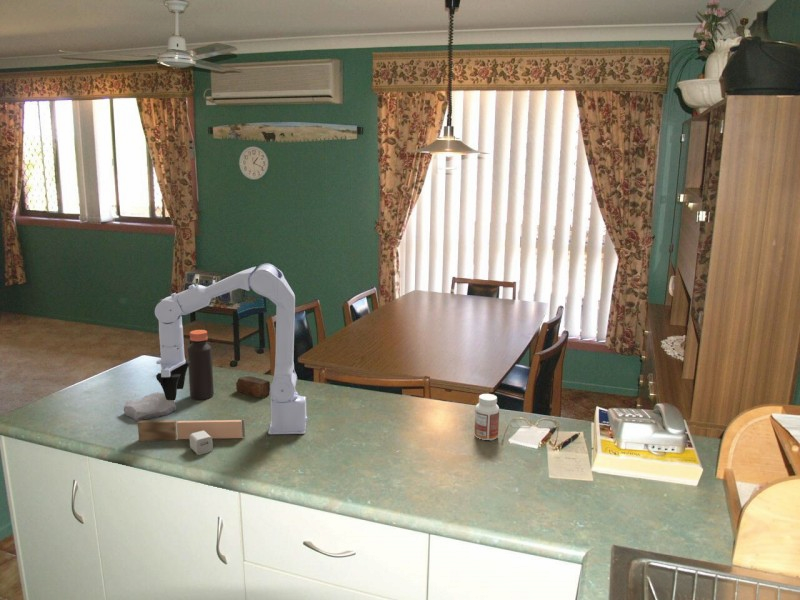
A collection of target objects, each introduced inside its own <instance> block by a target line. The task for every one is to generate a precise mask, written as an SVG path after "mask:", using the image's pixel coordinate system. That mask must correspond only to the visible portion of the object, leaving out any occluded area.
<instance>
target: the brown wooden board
mask: <svg viewBox="0 0 800 600" xmlns="http://www.w3.org/2000/svg"><path fill="white" fill-rule="evenodd" d="M137 431H138V433H137V434H138V441H139V442H154V441H155V442H157V441H158V442H159V441H160V442H161V441H163V442H164V441H166V442H167V441H177V440H178V436H177V420H176V419H172V420H171V419H164V420H163V419H158V420H157V419H156V420H137Z"/></svg>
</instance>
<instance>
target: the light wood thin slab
mask: <svg viewBox="0 0 800 600" xmlns="http://www.w3.org/2000/svg"><path fill="white" fill-rule="evenodd" d="M245 430H246V429H245V419H244V418H242V419H226V420H225V419H222V420H221V419H220V420H219V419H218V420H215V419H214V420H213V419H211V420H176V433H177V440H190V434H192V433H195V432H199V431H205V432H206V433H207V434H208V435H209V436H211V437H212V439H241V438H242V439H243V438H245V437H246V435H245V434H246V432H245Z"/></svg>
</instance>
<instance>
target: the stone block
mask: <svg viewBox="0 0 800 600" xmlns="http://www.w3.org/2000/svg"><path fill="white" fill-rule="evenodd" d="M176 410H177V405H176V403H175V400H167V399H166V397H165V394H164V392H159V391H156V392H153V393H150V394H147V395H145V396H144V397H142V398H140V399H137V400H128V401H126V403H125V404H124V406H123V412H124V414H125V415H126V416H128V417H129V418H133V419H134V421H135V420H136V421H144V420H148V419H152V418H158V417H162V416H166V415H170V414H172V413H173V411H174V412H175V411H176Z"/></svg>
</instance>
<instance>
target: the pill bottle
mask: <svg viewBox="0 0 800 600" xmlns="http://www.w3.org/2000/svg"><path fill="white" fill-rule="evenodd" d="M497 403H498V397H497V395H495V394H491V393H482V394H479V396H478V403H476V406H475V414H474V415H475V416H474V436H475V437H476V438H477V439H478V438H479V440H480V439H482V440H481V441H484V440H490V441H494V440H496V439H498V436H499V427H500V426H499V424H500V407H499V405H498V404H497Z"/></svg>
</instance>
